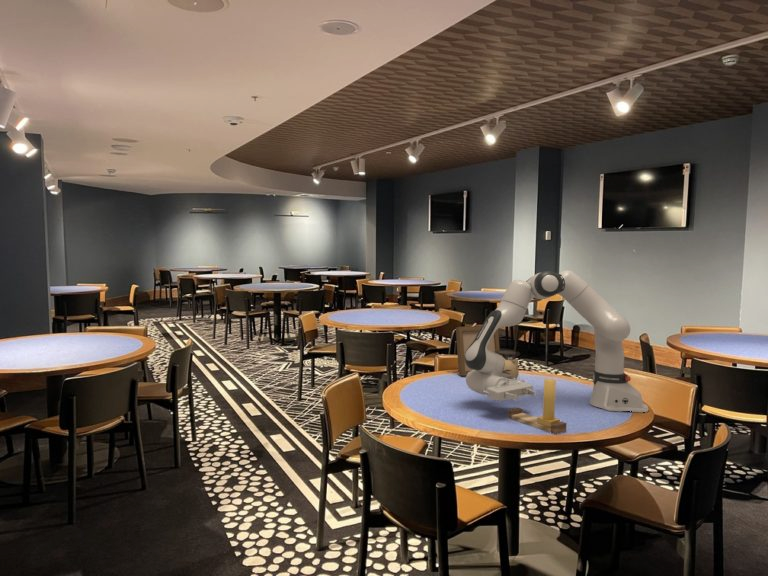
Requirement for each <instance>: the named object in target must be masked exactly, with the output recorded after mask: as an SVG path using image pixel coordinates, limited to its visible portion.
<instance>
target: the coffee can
mask: <svg viewBox="0 0 768 576" xmlns="http://www.w3.org/2000/svg"><path fill="white" fill-rule="evenodd" d="M495 353H497V354H499V355H502V357H503V358H504V359H505V360H510V361H512V360H514V359H517V358H516V356H517V353H516V351H513V350H508V349H506V350H505V349H500V350H497V351H495Z"/></svg>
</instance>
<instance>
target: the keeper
mask: <svg viewBox="0 0 768 576" xmlns="http://www.w3.org/2000/svg"><path fill="white" fill-rule="evenodd" d="M556 383H557V380H555V379H552V378H545V379H543V398H542V399H543V400H542V401H543V402H542V403H543V404H542V405H543V406H542V415H541V416H537V423H539V424H542V425H545V426H548V427H551V424H554V423H558V422H561V421H560V418H556V417H555V409H556V406H555V405H556Z"/></svg>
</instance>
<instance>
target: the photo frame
mask: <svg viewBox="0 0 768 576" xmlns="http://www.w3.org/2000/svg"><path fill="white" fill-rule="evenodd" d="M481 327H482V325H481V326H480V325H478V326H476V325H475V326H457V327H455V336H456V350H457V365H458V367H457V369H458V376H459V375H460V376H467V374H468V373H469V372H470V371H472V370H474V369H470V368H468V367H467V365H466V363H465V358H464V356H465V352H466V350H467V349H468V347H469V346H470V345H471V344H472V342H473V341H474V339H475V338H476V336H477V334H478V332H479V330H480V329H481ZM499 336H500V335H499V329H497V330H496V332H495V333H494V335H493V337H492V339H491V340H490V342H489V344H488V346H487V349H488V350H490V351H492V352H495V351H497V350H501V349H500V338H499Z"/></svg>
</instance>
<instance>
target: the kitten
mask: <svg viewBox="0 0 768 576" xmlns="http://www.w3.org/2000/svg"><path fill="white" fill-rule="evenodd" d="M501 356H502V355H501ZM503 359H504V358H503ZM504 363H505V365H504V369H503V372H502V374H501V376H500V377H504V378H516V380H518V378H519V374H520V373H519V366H518V365H519V359H518V358H515V359H514V360H512V361H510V360H505V359H504ZM520 381H523V382H525V380H524V379H520Z"/></svg>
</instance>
